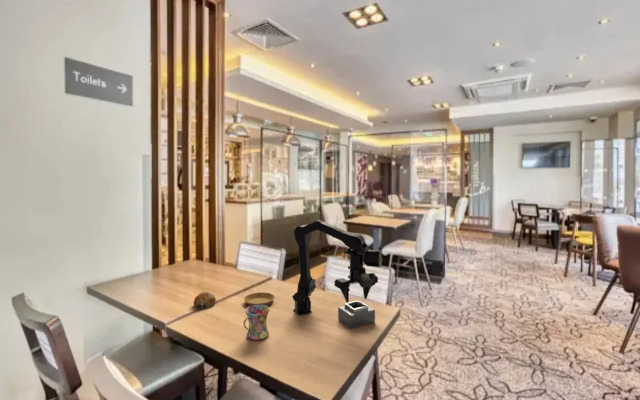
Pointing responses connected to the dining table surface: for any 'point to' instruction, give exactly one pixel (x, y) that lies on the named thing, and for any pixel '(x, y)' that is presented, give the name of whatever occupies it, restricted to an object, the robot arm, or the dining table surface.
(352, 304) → the open metal box
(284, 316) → the dining table surface
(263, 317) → the mug
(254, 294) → the plant saucer
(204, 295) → the brown rounded dome
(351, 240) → the robot arm
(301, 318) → the dining table surface
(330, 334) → the dining table surface
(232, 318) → the dining table surface
